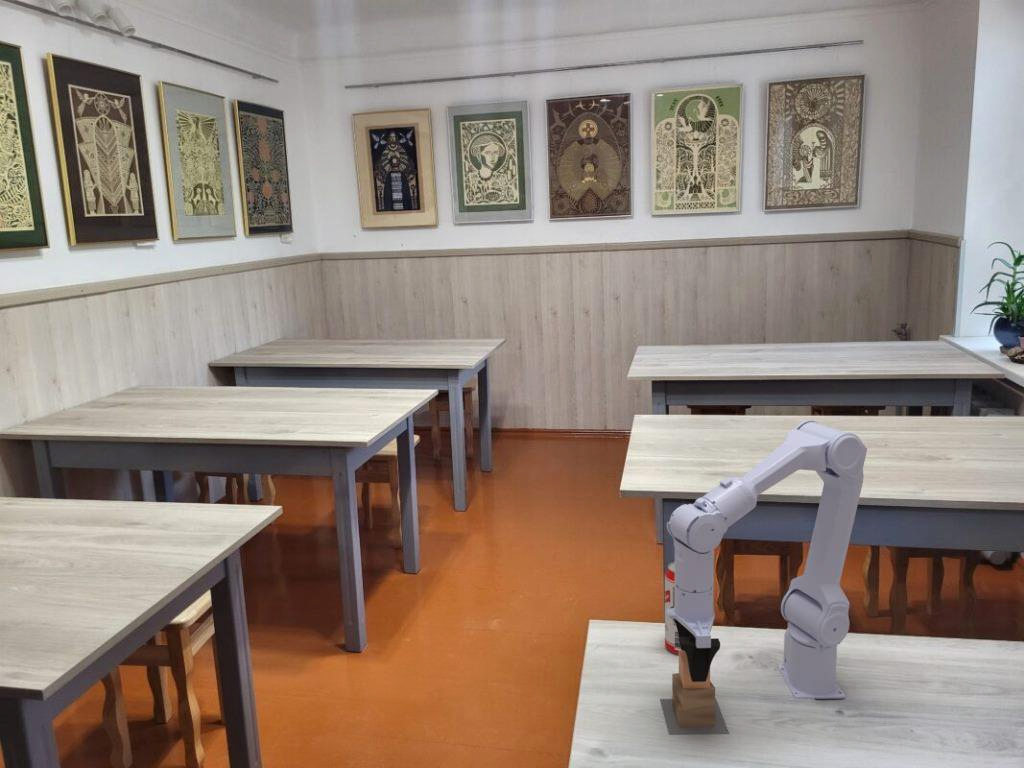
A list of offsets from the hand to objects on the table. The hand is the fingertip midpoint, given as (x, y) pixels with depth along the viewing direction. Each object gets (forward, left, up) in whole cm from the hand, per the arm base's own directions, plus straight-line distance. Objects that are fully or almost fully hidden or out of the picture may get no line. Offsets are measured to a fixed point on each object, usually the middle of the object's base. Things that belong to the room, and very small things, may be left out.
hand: (693, 666), depth 120 cm
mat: (0, 0, -9) cm, 9 cm away
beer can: (-20, +2, -9) cm, 22 cm away
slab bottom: (0, 0, -8) cm, 8 cm away
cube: (0, 0, -2) cm, 3 cm away
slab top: (0, 0, -6) cm, 6 cm away
